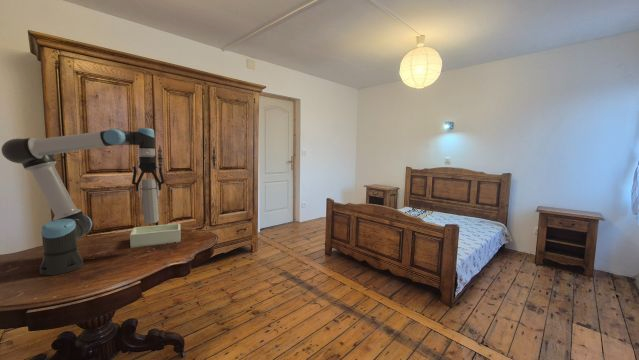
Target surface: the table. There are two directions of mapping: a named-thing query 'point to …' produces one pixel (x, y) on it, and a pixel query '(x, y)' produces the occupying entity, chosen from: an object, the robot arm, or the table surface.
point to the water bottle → (150, 201)
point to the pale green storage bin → (155, 235)
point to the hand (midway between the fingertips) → (149, 196)
